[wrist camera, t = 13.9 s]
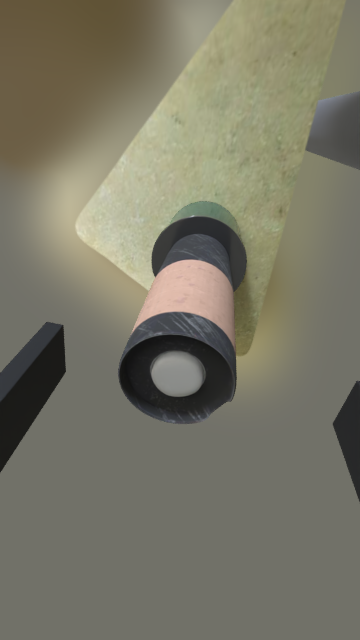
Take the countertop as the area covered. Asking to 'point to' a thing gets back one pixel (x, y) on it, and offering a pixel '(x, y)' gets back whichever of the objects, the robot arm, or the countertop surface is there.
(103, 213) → the countertop surface
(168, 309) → the travel mug
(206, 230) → the jar
